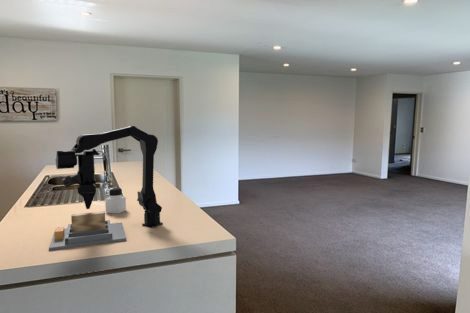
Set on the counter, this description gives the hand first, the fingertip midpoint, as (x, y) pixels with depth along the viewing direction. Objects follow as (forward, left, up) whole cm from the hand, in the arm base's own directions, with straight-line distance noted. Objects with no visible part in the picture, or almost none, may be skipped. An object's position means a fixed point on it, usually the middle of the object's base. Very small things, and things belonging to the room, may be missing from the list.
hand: (88, 206), depth 132 cm
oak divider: (0, 0, -11) cm, 11 cm away
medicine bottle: (+22, -30, -12) cm, 39 cm away
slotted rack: (0, 0, -12) cm, 12 cm away
